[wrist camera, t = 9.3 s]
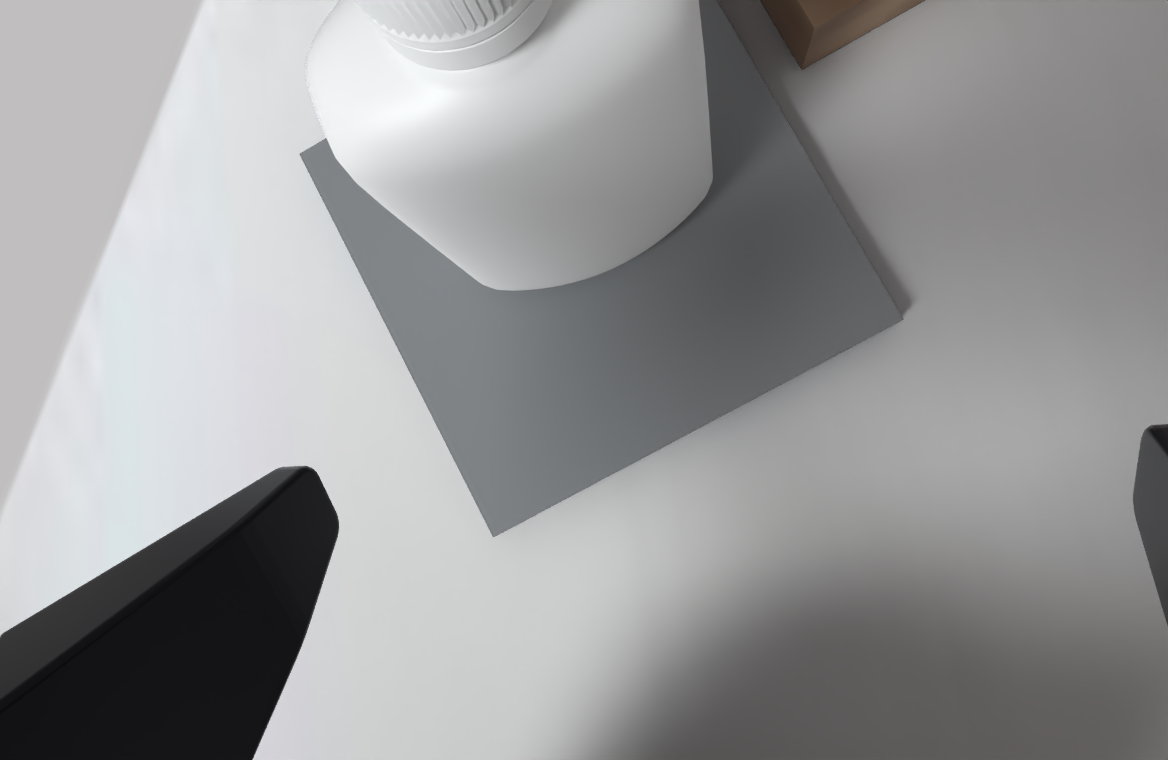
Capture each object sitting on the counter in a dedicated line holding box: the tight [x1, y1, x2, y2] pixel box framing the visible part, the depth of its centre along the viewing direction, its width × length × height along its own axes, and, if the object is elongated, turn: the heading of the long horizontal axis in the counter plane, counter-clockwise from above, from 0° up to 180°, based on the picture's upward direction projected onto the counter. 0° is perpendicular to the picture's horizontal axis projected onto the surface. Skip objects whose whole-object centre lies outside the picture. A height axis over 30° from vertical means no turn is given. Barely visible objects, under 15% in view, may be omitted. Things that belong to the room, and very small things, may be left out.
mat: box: [300, 0, 903, 537], centre depth 19 cm, size 10×10×1 cm
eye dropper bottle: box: [306, 0, 713, 291], centre depth 13 cm, size 4×6×12 cm
